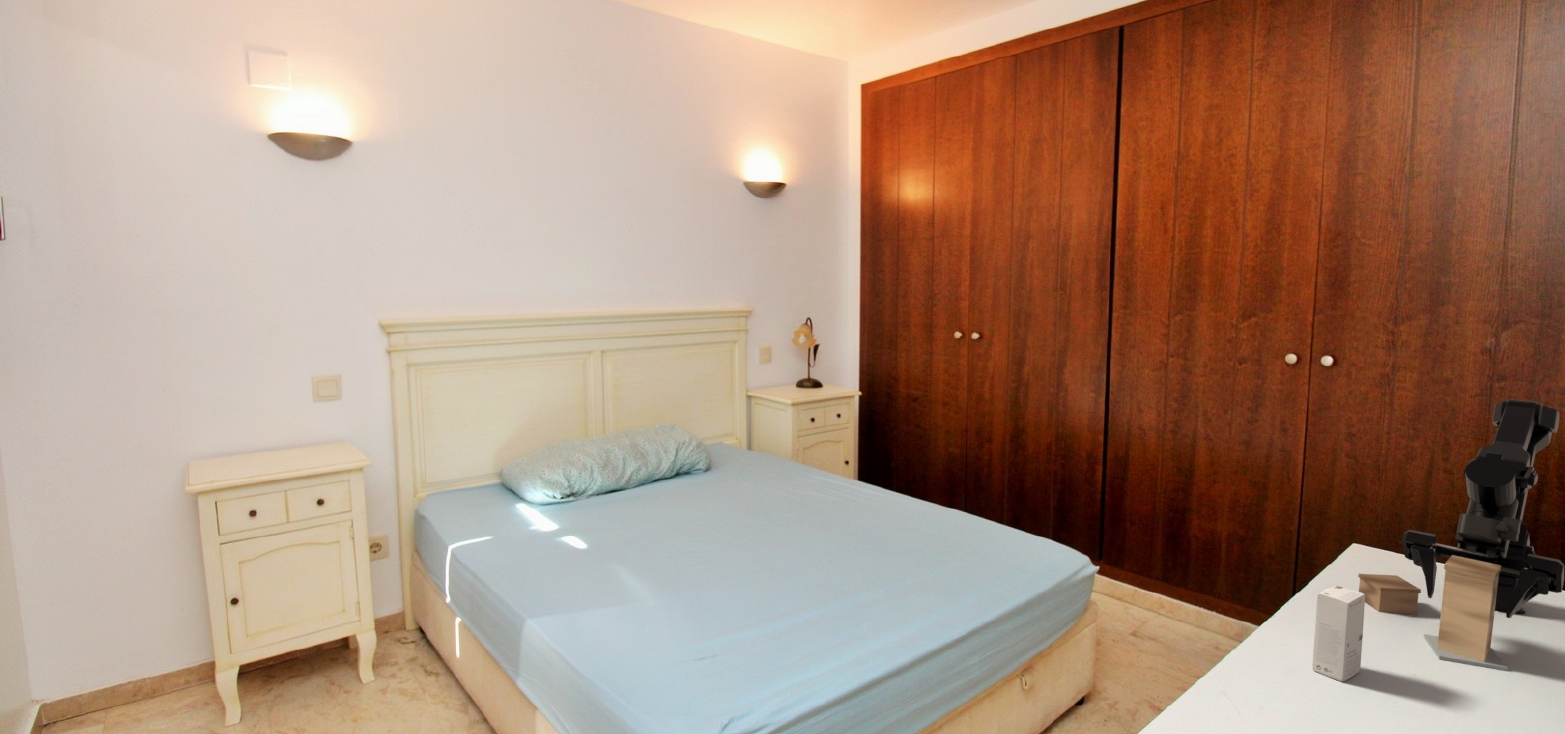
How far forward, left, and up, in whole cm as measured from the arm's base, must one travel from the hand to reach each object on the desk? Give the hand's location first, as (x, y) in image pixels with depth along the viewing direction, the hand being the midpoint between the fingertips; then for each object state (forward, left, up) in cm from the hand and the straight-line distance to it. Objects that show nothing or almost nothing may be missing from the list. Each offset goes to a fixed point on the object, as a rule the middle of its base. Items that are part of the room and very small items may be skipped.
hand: (1467, 606), depth 118 cm
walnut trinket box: (-17, -6, -8) cm, 20 cm away
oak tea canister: (-1, +1, -8) cm, 8 cm away
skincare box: (+14, -18, -8) cm, 24 cm away
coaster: (-1, +1, -8) cm, 8 cm away
